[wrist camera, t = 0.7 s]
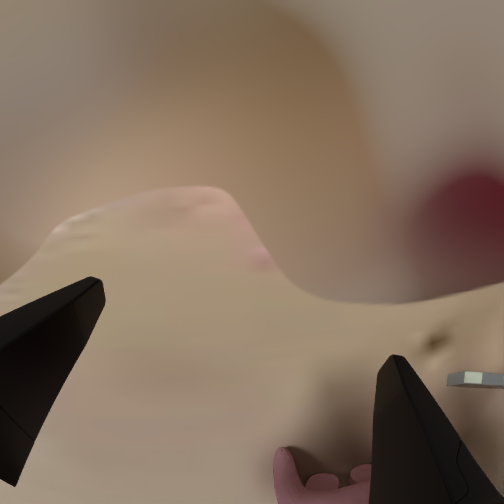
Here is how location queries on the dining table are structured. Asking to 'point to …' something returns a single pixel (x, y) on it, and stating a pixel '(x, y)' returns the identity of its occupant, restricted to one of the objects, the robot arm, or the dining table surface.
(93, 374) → the dining table surface
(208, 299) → the dining table surface
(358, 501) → the video game controller
